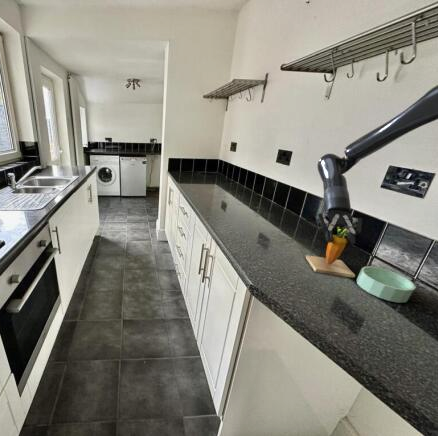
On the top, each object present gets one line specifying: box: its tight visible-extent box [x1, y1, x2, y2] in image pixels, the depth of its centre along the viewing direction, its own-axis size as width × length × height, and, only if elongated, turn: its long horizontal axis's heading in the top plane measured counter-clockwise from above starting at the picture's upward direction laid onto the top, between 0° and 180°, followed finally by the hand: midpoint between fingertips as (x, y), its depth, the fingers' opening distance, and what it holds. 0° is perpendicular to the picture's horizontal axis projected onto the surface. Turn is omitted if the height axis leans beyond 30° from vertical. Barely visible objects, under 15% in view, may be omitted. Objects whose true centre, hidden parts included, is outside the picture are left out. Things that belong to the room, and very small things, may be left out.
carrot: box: [325, 226, 348, 264], centre depth 83 cm, size 5×5×15 cm
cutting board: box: [305, 254, 356, 279], centre depth 86 cm, size 12×10×1 cm
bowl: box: [356, 265, 417, 304], centre depth 74 cm, size 12×12×5 cm
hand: (340, 243), depth 80 cm, fingers open, 5 cm apart
